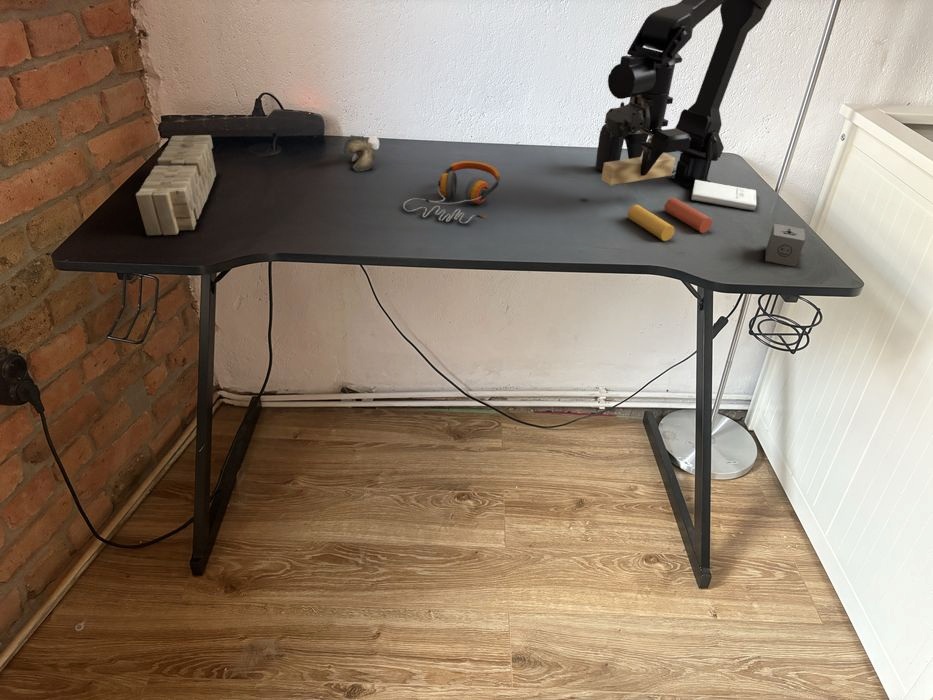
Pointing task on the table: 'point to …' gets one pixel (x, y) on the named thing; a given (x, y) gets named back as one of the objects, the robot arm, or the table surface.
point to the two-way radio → (608, 147)
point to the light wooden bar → (635, 170)
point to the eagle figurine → (361, 151)
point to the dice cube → (785, 245)
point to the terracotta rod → (688, 215)
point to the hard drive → (724, 195)
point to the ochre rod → (651, 222)
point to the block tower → (177, 186)
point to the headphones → (474, 189)
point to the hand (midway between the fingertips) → (637, 172)
